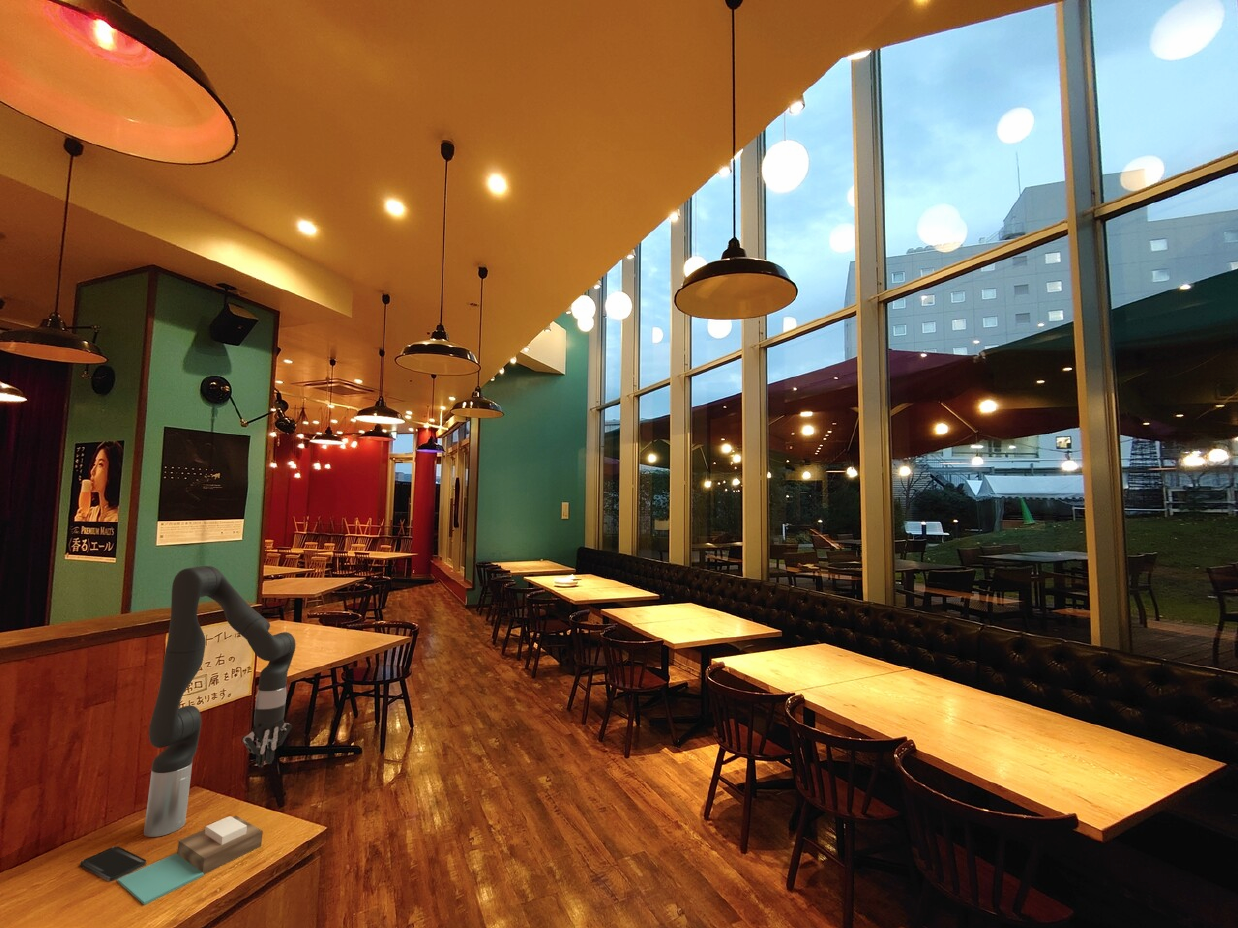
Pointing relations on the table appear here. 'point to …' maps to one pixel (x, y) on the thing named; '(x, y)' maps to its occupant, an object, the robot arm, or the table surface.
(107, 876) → the phone
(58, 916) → the table surface
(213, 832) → the white rectangular block
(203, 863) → the block
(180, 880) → the mat
